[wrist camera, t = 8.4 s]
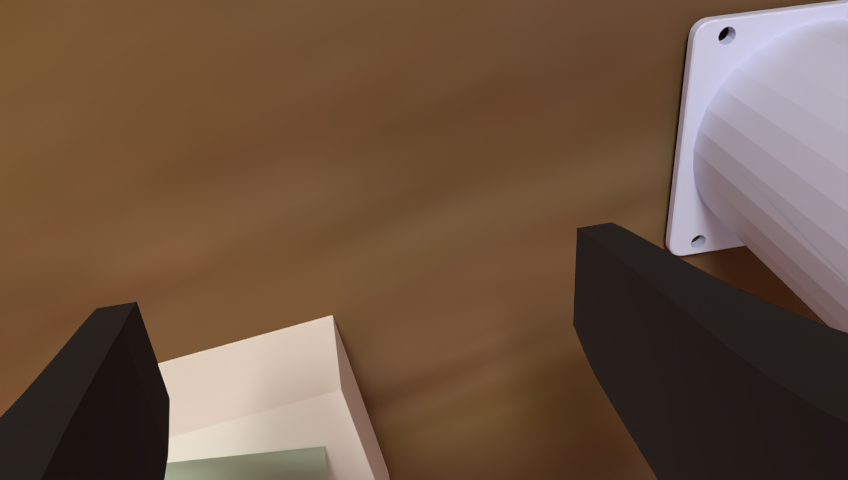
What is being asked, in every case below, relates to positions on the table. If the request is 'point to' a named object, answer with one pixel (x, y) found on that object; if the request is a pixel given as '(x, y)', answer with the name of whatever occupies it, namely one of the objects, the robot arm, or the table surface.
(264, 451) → the cream base block
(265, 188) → the table surface
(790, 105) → the robot arm
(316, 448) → the green cube
